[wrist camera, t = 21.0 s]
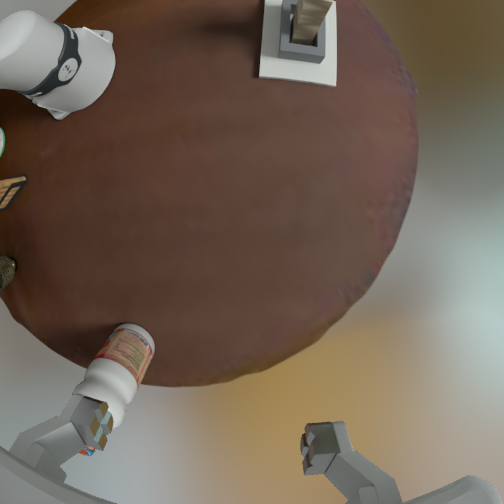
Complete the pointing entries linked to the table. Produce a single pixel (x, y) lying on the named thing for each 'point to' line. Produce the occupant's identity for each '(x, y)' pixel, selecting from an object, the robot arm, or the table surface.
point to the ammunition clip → (10, 190)
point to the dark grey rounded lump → (6, 270)
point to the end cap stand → (297, 47)
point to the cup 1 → (2, 141)
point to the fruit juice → (118, 371)
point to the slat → (308, 20)
